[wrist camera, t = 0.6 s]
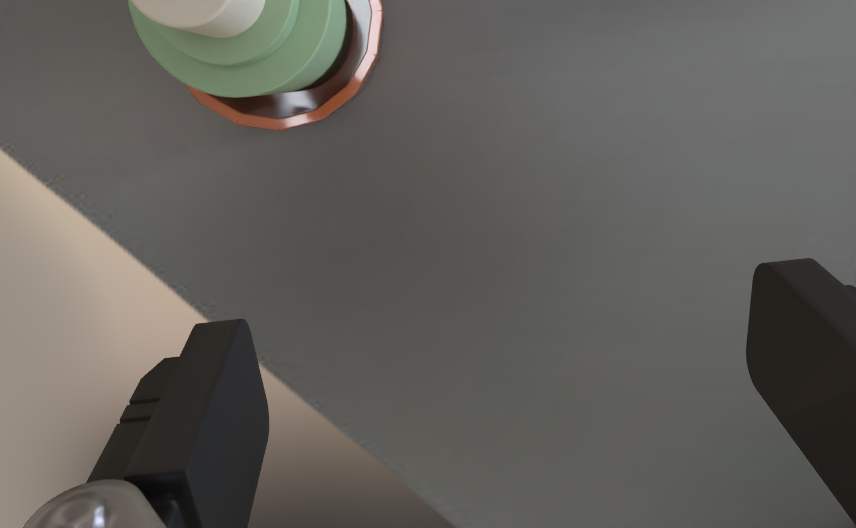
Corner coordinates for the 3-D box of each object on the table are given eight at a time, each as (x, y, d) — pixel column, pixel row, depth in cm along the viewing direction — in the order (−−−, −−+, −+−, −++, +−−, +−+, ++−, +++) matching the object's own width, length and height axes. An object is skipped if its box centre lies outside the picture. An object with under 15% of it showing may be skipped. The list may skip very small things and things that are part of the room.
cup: (176, -43, 35) (124, -73, 28) (356, -90, 35) (347, -131, 28) (232, 138, 37) (196, 151, 30) (401, 95, 37) (404, 98, 30)
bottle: (211, -22, 35) (-4, -146, 16) (334, -53, 35) (268, -216, 16) (249, 104, 36) (93, 130, 17) (367, 74, 36) (343, 66, 17)
